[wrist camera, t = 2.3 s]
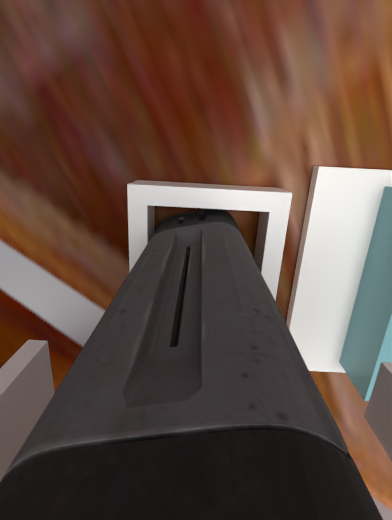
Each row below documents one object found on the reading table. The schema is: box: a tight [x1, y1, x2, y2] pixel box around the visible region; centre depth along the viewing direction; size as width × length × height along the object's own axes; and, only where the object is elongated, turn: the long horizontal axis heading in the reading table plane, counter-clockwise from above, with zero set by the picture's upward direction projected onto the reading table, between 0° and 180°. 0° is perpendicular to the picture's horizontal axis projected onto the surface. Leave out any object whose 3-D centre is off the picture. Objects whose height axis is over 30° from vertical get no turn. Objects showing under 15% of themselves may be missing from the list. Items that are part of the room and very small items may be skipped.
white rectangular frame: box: [127, 180, 292, 300], centre depth 21 cm, size 10×13×3 cm
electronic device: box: [0, 209, 383, 520], centre depth 13 cm, size 9×6×20 cm, turn 10°
